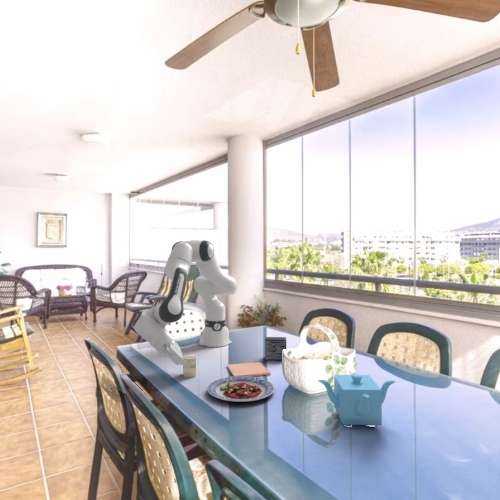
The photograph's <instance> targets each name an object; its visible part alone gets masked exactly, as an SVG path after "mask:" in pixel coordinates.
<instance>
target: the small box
mask: <svg viewBox="0 0 500 500" xmlns="http://www.w3.org/2000/svg"><path fill="white" fill-rule="evenodd" d="M264 342H265V343H264V355H265V357H264V360H265V361H266V360H267V362H268V361H273V362H275V361H278V362H282V361H281V360H282V350H283V349H286V350H287V337H286V336H285V337H284V336H283V337H282V336H265V338H264Z"/></svg>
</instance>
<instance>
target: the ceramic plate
mask: <svg viewBox="0 0 500 500" xmlns="http://www.w3.org/2000/svg"><path fill="white" fill-rule="evenodd" d="M275 390H276V389H275V385H274V384H273V383H272V381H271V382H270V381H269V380H266V379H263V378H261V377H257V376H254V377H249V376H234V377H233V376H227V377H223V378H219V379H216V380H214V381H212V382H211V383H209V385H208V386H207V393H208V394H210V395H211V396H212V397H213V398H216V399H220V400H223V401H227V402H236V403H237V402H242V403H243V402H246V403H247V402H253V401H254V402H255V401H259V400H260V401H261V400H262V399H266V398H268V397H270V396H271V395H272V394H274V392H275Z"/></svg>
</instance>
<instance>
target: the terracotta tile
mask: <svg viewBox="0 0 500 500" xmlns="http://www.w3.org/2000/svg"><path fill="white" fill-rule="evenodd" d="M226 368H227V369H228V371H229V372H230V374H231V375H232V377H234V376H249V377H263V375H265V376H271V372H270V371H269V370H268V368H267V367H266V366H264V364H263V363H262V362H260V361H256V362H255V361H254V362H245V363H244V362H243V363H232V364H231V363H230V364H226Z"/></svg>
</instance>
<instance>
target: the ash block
mask: <svg viewBox="0 0 500 500" xmlns="http://www.w3.org/2000/svg"><path fill="white" fill-rule="evenodd" d="M183 358H184V360H185V361H186V362H187V363H188V364H189V367H188V368H186V367H184V366H183V365H182V367H183V368H182V374H183V378H195V377H197V357H196V355H195V354H189V355H184V356H183Z"/></svg>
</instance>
